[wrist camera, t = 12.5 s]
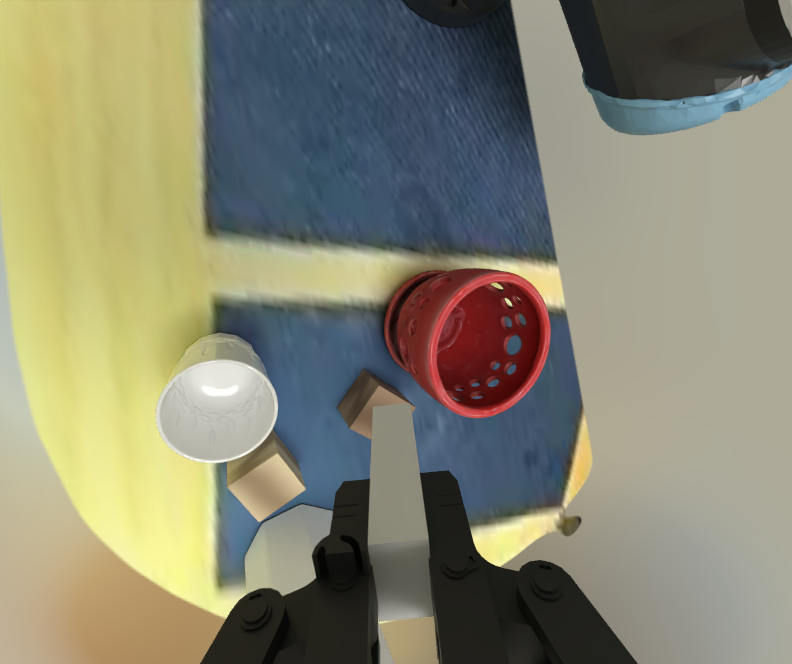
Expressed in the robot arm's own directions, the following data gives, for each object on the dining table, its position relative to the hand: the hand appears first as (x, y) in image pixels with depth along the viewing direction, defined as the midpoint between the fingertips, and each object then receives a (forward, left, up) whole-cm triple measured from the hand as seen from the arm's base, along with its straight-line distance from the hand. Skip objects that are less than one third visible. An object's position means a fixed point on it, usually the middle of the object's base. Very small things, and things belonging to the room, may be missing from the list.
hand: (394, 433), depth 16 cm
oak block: (+13, +9, -25) cm, 30 cm away
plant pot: (-10, +10, -25) cm, 29 cm away
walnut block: (+1, +12, -25) cm, 28 cm away
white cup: (+9, -1, -25) cm, 27 cm away
